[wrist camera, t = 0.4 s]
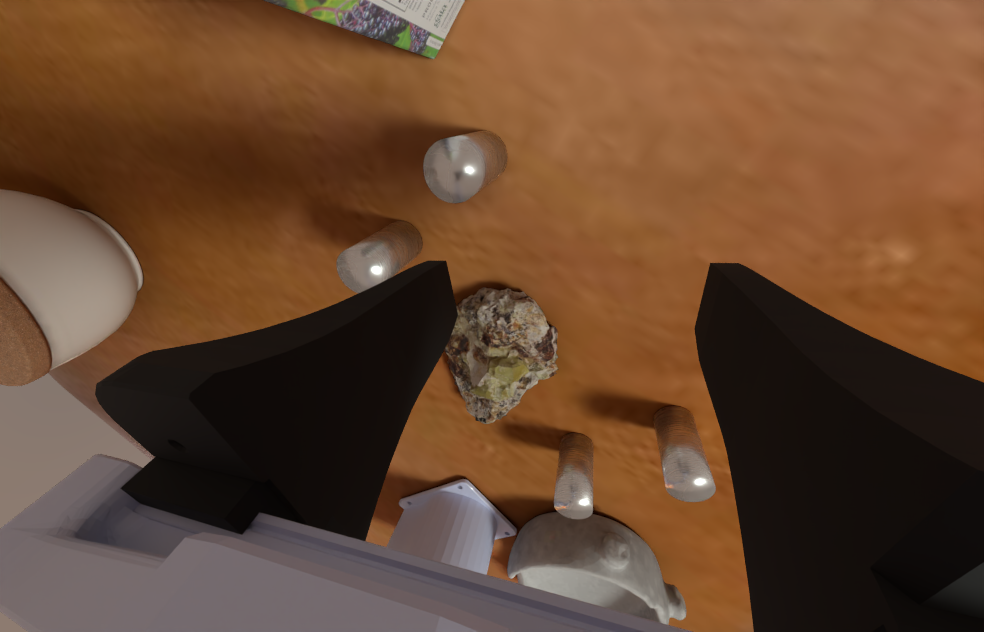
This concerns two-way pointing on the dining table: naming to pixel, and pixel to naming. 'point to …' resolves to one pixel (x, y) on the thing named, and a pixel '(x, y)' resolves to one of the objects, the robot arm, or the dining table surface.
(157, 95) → the dining table surface
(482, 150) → the spacer posts
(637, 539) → the dish
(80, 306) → the lidded bowl
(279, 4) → the syrup box
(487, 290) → the mineral rock
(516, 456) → the dining table surface
